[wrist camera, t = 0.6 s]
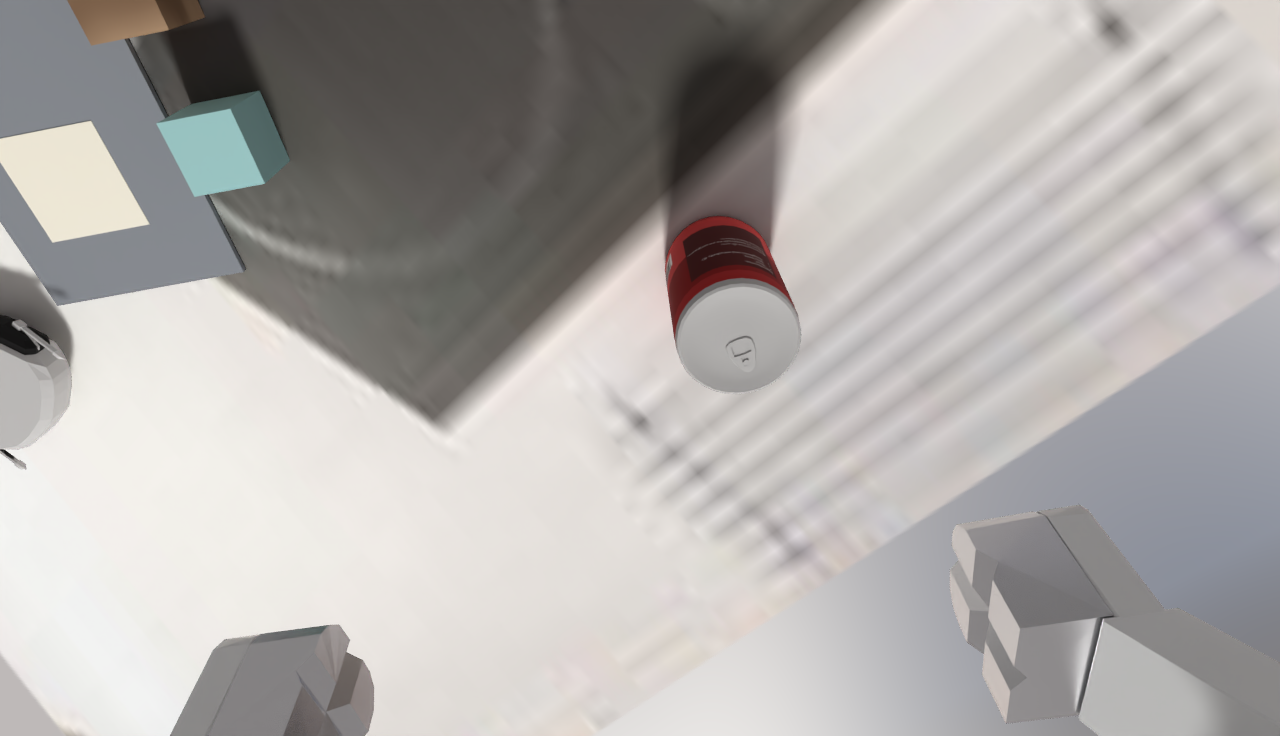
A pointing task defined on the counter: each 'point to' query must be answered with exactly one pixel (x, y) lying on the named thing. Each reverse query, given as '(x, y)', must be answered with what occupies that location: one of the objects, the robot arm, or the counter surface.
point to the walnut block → (132, 17)
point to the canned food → (729, 307)
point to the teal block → (225, 143)
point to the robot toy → (29, 385)
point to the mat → (94, 165)
